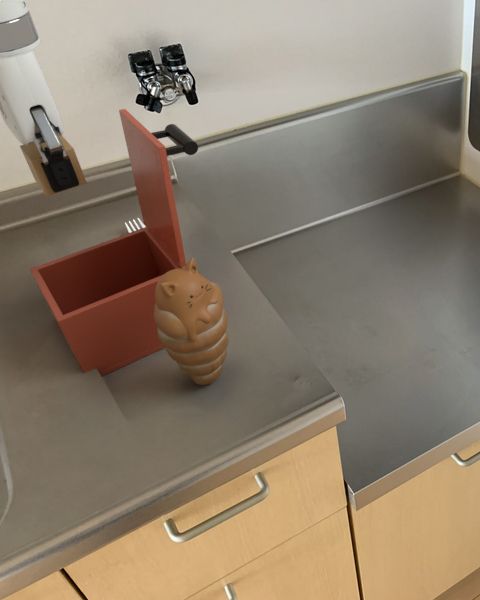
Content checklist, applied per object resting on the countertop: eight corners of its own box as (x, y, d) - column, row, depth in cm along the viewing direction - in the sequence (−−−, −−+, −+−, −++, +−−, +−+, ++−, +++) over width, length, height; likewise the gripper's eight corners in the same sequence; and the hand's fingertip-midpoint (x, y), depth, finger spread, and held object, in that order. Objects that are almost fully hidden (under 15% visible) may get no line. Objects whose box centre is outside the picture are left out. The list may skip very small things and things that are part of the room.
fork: (174, 292, 92) (171, 282, 90) (125, 232, 103) (121, 223, 102) (194, 283, 93) (192, 273, 92) (143, 225, 105) (140, 216, 104)
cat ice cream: (212, 413, 75) (176, 303, 63) (162, 392, 77) (119, 282, 65) (254, 365, 81) (229, 256, 69) (207, 347, 83) (175, 238, 71)
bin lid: (158, 147, 68) (207, 136, 71) (118, 109, 75) (164, 101, 78) (180, 268, 78) (223, 254, 81) (143, 224, 85) (183, 213, 88)
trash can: (88, 382, 78) (57, 321, 71) (60, 329, 86) (29, 268, 79) (202, 330, 86) (184, 269, 78) (167, 284, 93) (147, 226, 86)
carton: (46, 196, 77) (30, 160, 73) (35, 180, 80) (19, 145, 76) (87, 183, 79) (73, 148, 76) (74, 168, 82) (60, 133, 79)
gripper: (-57, 21, 70) (10, 163, 82) (-21, 63, 60) (49, 218, 72) (14, 8, 74) (68, 146, 86) (58, 46, 64) (112, 196, 76)
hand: (58, 177), depth 79 cm, fingers closed on carton, 5 cm apart
